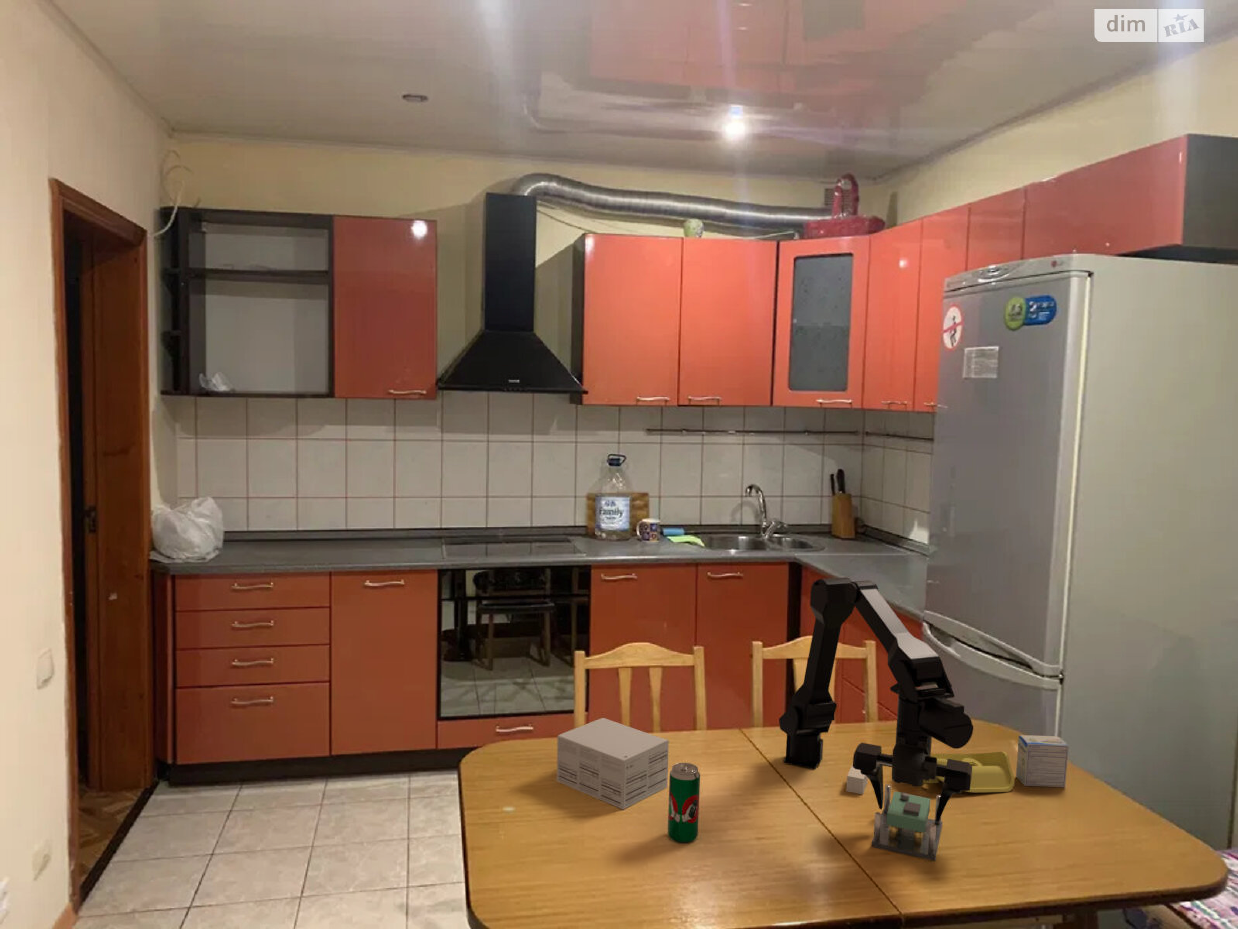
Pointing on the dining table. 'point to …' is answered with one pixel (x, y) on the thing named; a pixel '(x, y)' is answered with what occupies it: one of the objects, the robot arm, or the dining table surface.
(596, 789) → the supplement box
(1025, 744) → the medicine box
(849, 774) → the white rectangular block
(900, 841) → the chassis
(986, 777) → the plastic component
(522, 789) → the dining table surface
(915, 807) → the board
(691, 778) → the soda can
